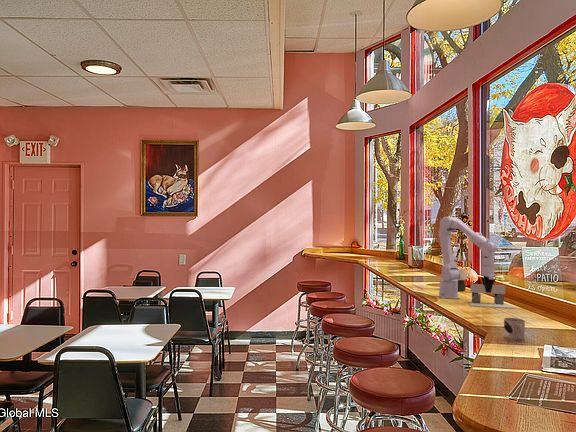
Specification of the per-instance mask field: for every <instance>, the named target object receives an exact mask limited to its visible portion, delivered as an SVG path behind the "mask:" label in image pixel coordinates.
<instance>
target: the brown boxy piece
mask: <svg viewBox="0 0 576 432" xmlns="http://www.w3.org/2000/svg"><path fill="white" fill-rule="evenodd" d="M481 294H482V293H472V292H471V303H481V299H482V298H481Z"/></svg>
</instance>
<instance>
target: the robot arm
mask: <svg viewBox="0 0 576 432" xmlns="http://www.w3.org/2000/svg"><path fill="white" fill-rule="evenodd" d="M457 229H458V230H460V231H461V232H462V233H463V234H465V235H466V236H468V237H469V238H470V242H471V243H473V244H474V245H476V246H477V247H478V248H479V249H480V251H481V255H482V256H481V257H482V258H481V277H480V280H481V282H482V284H485V289H486V292H487V293H486V294H491V290H492V286H493V285H494V283H495V282H496V279H495V278H494V277H495V276H497V275H498V274H497V273H495V252H496V251H497V244H496V243H495V242H494V241H490V239H489V238H487V237H485V236H483V233H482V232H475V231H474V230H473V229H471V227H469V226H468V225H467V224H466V223H465V222H463V221H462V219H459V218H458V217H457V216H444V217H442V219H441V220H440V221H439V228H438V236H439V243H440V249H441V255H442V261H443V265H442V267H441V274H440V275H441V279H442V280H440V281H439V287H438V288H439V292H438V294H439V295H438V296H439V298H441V299H455V300H458V299H460V297H459V296H458V291H459V290H458V279H459V278H460V275H461V274H460V271H459V270H458V269H459V268H458V265H457V264H456V263H455V258H454V253H453V248H452V242H451V238H450V237H451V236H450V235H451V234H452V232H453V231H455V230H457ZM482 276H483V277H482Z"/></svg>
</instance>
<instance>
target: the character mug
mask: <svg viewBox="0 0 576 432" xmlns="http://www.w3.org/2000/svg"><path fill="white" fill-rule="evenodd" d="M458 270H459V271H460V274H461V275H460V278H459V279H458V291H466V290H467V289H466V282H465V281H466V280H467V279H469V278H471V273H470V272H469V271H467V270H468V269H466V268H458Z"/></svg>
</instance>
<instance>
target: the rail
mask: <svg viewBox="0 0 576 432" xmlns="http://www.w3.org/2000/svg"><path fill="white" fill-rule="evenodd" d="M470 293H471V294H472V293H478V294H488V293H487V292H486V289H485V284H483V283H482V284H481V283H480V284H479V283H470ZM490 294H491V295H492V294H501V295H506V285H505V284H504V285H501V284H493V286H492V290H491V293H490Z"/></svg>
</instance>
